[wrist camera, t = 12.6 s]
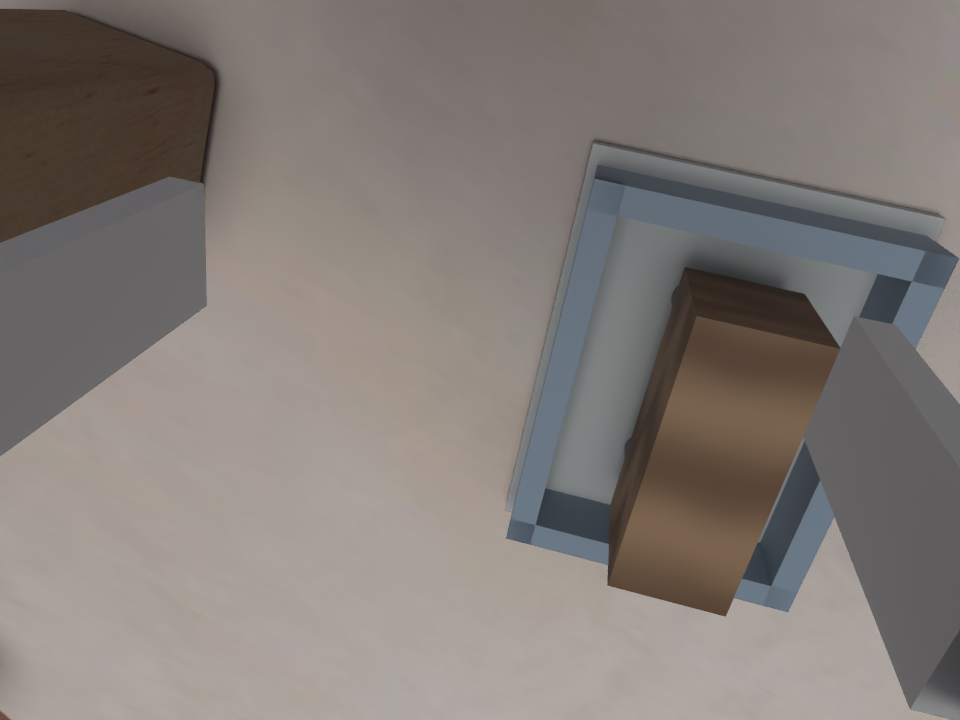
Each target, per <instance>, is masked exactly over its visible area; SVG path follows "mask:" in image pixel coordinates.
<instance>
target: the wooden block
mask: <svg viewBox="0 0 960 720" xmlns="http://www.w3.org/2000/svg"><path fill="white" fill-rule="evenodd" d="M214 88H215V79H214V72H213V71H211V70H210V69H209V68H207V67H206V66H205V65H204V64H202V63H201V62H200V61H198V60H195V59H192V58H190V57H187V56H184V55H182V54H179V53H177V52H174V51H171V50H169V49H166V48H163V47H161V46H158V45H155V44H153V43H150V42H147V41H145V40H142V39H139V38H137V37H134V36H131V35H129V34H126V33H123V32H121V31H118V30H115V29H113V28H110V27H107V26H105V25H102V24H99V23H97V22H94V21H92V20H89V19H86V18H84V17H81V16H78V15H76V14H73V13H70V12H68V11H65V10H28V9H0V243H1V242H4V241H6V240H9V239H11V238H14V237H16V236H19V235H21V234H24V233H27V232H29V231H32V230H34V229H37V228H39V227H42V226H44V225H47V224H50V223H52V222H55V221H57V220H60V219H62V218H65V217H67V216H70V215H73V214H75V213H78V212H80V211H83V210H85V209H88V208H90V207H93V206H96V205H98V204H101V203H103V202H106V201H108V200H111V199H113V198H116V197H119V196H121V195H124V194H126V193H129V192H131V191H134V190H136V189H139V188H142V187H144V186H147V185H149V184H152V183H154V182H157V181H159V180H162V179H165V178H167V177H174V178H178V179H183V180H188V181H193V182H198V183H200V179H201V173H202V166H203V160H204V153H205V147H206V140H207V133H208V127H209V120H210V114H211V107H212V101H213V94H214Z"/></svg>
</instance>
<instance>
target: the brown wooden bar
mask: <svg viewBox="0 0 960 720" xmlns="http://www.w3.org/2000/svg"><path fill="white" fill-rule="evenodd" d="M839 351H840V346H839V345H838V343H837V342H836V340H835V339H834V337H833V336H832V334H831V333H830V331H829V330H828V328H827V327H826V325H825V324H824V322H823V321H822V319H821V318H820V316H819V315H818V313H817V312H816V310H815V309H814V307H813V306H812V304H811V303H810V301H809V299H808V298H807V296H806V295H805V294H804V293H799V292H795V291H790V290H786V289H781V288H777V287H772V286H768V285H763V284H759V283H754V282H750V281H746V280H741V279H737V278H732V277H728V276H723V275H719V274H714V273H710V272H705V271H701V270H696V269H692V268H688V267H685V268H684V271H683V274H682V277H681V281H680V284H679V287H678V290H677V293H676V296H675V300H674V303H673V306H672V309H671V312H670V316H669V319H668V322H667V325H666V328H665V332H664V335H663V338H662V341H661V344H660V348H659V351H658V354H657V357H656V360H655V364H654V367H653V370H652V373H651V376H650V379H649V383H648V386H647V389H646V392H645V395H644V399H643V402H642V405H641V408H640V411H639V415H638V418H637V421H636V424H635V427H634V431H633V434H632V437H631V440H630V443H629V447H628V450H627V453H626V456H625V459H624V462H623V466H622V469H621V472H620V475H619V478H618V482H617V485H616V488H615V491H614V494H613V498H612V501H611V504H610V525H609V555H608V586H612V587H616V588H619V589H623V590H627V591H631V592H635V593H638V594H642V595H646V596H650V597H654V598H657V599H661V600H665V601H669V602H673V603H676V604H680V605H684V606H688V607H692V608H695V609H699V610H703V611H707V612H711V613H715V614H718V615H722V616H726V614H727V612H728V610H729V607H730V605H731V603H732V601H733V598H734V596H735V594H736V591H737V589H738V587H739V584H740V582H741V580H742V577H743V575H744V573H745V570H746V568H747V566H748V564H749V561H750V559H751V557H752V554H753V552H754V550H755V547H756V545H757V543H758V540H759V538H760V536H761V534H762V531H763V529H764V527H765V524H766V522H767V520H768V517H769V515H770V513H771V510H772V508H773V506H774V503H775V501H776V499H777V497H778V494H779V492H780V490H781V487H782V485H783V483H784V480H785V478H786V476H787V473H788V471H789V469H790V467H791V464H792V462H793V460H794V457H795V455H796V453H797V450H798V448H799V446H800V443H801V441H802V439H803V436H804V434H805V432H806V429H807V427H808V425H809V422H810V420H811V417H812V415H813V413H814V410H815V408H816V406H817V403H818V401H819V398H820V396H821V394H822V391H823V389H824V386H825V384H826V382H827V379H828V377H829V375H830V372H831V370H832V367H833V365H834V363H835V360H836V358H837V355H838V353H839Z"/></svg>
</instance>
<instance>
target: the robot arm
mask: <svg viewBox="0 0 960 720" xmlns="http://www.w3.org/2000/svg"><path fill="white" fill-rule="evenodd" d="M205 306H207V296H206V250H205V204H204V184H203V183H198V182H193V181H188V180H183V179H178V178H174V177H167V178H165V179H162V180H159V181H157V182H154V183H152V184H149V185H147V186H144V187H142V188H139V189H136V190H134V191H131V192H129V193H126V194H124V195H121V196H119V197H116V198H113V199H111V200H108V201H106V202H103V203H101V204H98V205H96V206H93V207H90V208H88V209H85V210H83V211H80V212H78V213H75V214H73V215H70V216H67V217H65V218H62V219H60V220H57V221H55V222H52V223H50V224H47V225H44V226H42V227H39V228H37V229H34V230H32V231H29V232H27V233H24V234H21V235H19V236H16V237H14V238H11V239H9V240H6V241H4V242H1V243H0V456H1V455H3V454H4V453H5V452H7V451H8V450H10V449H11V448H12V447H14V446H15V445H16V444H18V443H19V442H21V441H22V440H23V439H25V438H26V437H27V436H29V435H30V434H31V433H33V432H34V431H36V430H37V429H38V428H40V427H41V426H42V425H44V424H45V423H47V422H48V421H49V420H51V419H52V418H53V417H55V416H56V415H58V414H59V413H60V412H62V411H63V410H64V409H66V408H67V407H68V406H70V405H71V404H73V403H74V402H75V401H77V400H78V399H79V398H81V397H82V396H84V395H85V394H86V393H88V392H89V391H90V390H92V389H93V388H94V387H96V386H97V385H99V384H100V383H101V382H103V381H104V380H105V379H107V378H108V377H110V376H111V375H112V374H114V373H115V372H116V371H118V370H119V369H121V368H122V367H123V366H125V365H126V364H127V363H129V362H130V361H131V360H133V359H134V358H136V357H137V356H138V355H140V354H141V353H142V352H144V351H145V350H147V349H148V348H149V347H151V346H152V345H153V344H155V343H156V342H158V341H159V340H160V339H162V338H163V337H164V336H166V335H167V334H168V333H170V332H171V331H173V330H174V329H175V328H177V327H178V326H179V325H181V324H182V323H184V322H185V321H186V320H188V319H189V318H190V317H192V316H193V315H195V314H196V313H197V312H199V311H200V310H201V309H203V308H204V307H205ZM804 440H805V442H806V445H807V447H808V450H809V453H810V455H811V458H812V460H813V463H814V465H815V468H816V470H817V473H818V476H819V478H820V481H821V483H822V486H823V488H824V491H825V493H826V496H827V499H828V501H829V504H830V506H831V509H832V511H833V514H834V516H835V519H836V522H837V524H838V527H839V529H840V532H841V534H842V537H843V539H844V542H845V544H846V547H847V550H848V552H849V555H850V557H851V560H852V562H853V565H854V567H855V570H856V573H857V575H858V578H859V580H860V583H861V585H862V588H863V590H864V593H865V596H866V598H867V601H868V603H869V606H870V608H871V611H872V613H873V616H874V619H875V621H876V624H877V626H878V629H879V631H880V634H881V636H882V639H883V641H884V644H885V647H886V649H887V652H888V654H889V657H890V659H891V662H892V664H893V667H894V670H895V672H896V675H897V677H898V680H899V682H900V685H901V687H902V690H903V693H904V695H905V698H906V700H907V703H908V705H909V708H910V709H911V710H915V711H919V712H923V713H927V714H931V715H935V716H939V717H943V718H947V719H951V720H960V404H959V403H958V402H957V401H956V399H955V398H954V397H953V396H952V394H951V393H950V392H949V391H948V389H947V388H946V387H945V386H944V385H943V383H942V382H941V381H940V380H939V378H938V377H937V376H936V375H935V373H934V372H933V371H932V370H931V368H930V367H929V366H928V365H927V363H926V362H925V361H924V360H923V358H922V357H921V356H920V355H919V353H918V352H917V351H916V350H915V349H914V347H913V346H912V345H911V344H910V342H909V341H908V340H907V339H906V337H905V336H904V335H903V334H902V332H901V331H900V330H899V329H898V327H897V326H896V325H894V324H889V323H884V322H879V321H875V320H870V319H865V318H860V317H855V316H854V317H853V320H852V322H851V325H850V327H849V329H848V332H847V334H846V336H845V339H844V341H843V344H842V346H841V348H840V351H839V353H838V355H837V358H836V360H835V363H834V365H833V367H832V370H831V372H830V375H829V377H828V379H827V382H826V384H825V386H824V389H823V391H822V394H821V396H820V398H819V401H818V403H817V406H816V408H815V410H814V413H813V415H812V417H811V420H810V422H809V425H808V427H807V429H806V432H805V434H804Z"/></svg>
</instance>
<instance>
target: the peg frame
mask: <svg viewBox="0 0 960 720" xmlns="http://www.w3.org/2000/svg"><path fill="white" fill-rule="evenodd" d="M945 221H946V219H945V218H944V217H942V216H940V215H939V214H934V213H929V212H925V211H920V210H915V209H911V208H906V207H901V206H897V205H892V204H887V203H883V202H878V201H873V200H869V199H864V198H859V197H855V196H850V195H845V194H841V193H836V192H831V191H827V190H822V189H817V188H813V187H808V186H803V185H799V184H794V183H789V182H785V181H780V180H775V179H771V178H766V177H761V176H757V175H752V174H747V173H743V172H738V171H733V170H729V169H724V168H719V167H715V166H710V165H705V164H701V163H696V162H691V161H687V160H682V159H677V158H673V157H668V156H663V155H659V154H654V153H649V152H645V151H640V150H635V149H630V148H626V147H621V146H616V145H612V144H607V143H602V142H598V141H593V145H592V149H591V153H590V157H589V161H588V166H587V170H586V174H585V178H584V182H583V186H582V191H581V195H580V199H579V203H578V207H577V211H576V216H575V220H574V224H573V228H572V232H571V236H570V241H569V245H568V249H567V253H566V257H565V261H564V266H563V270H562V274H561V278H560V282H559V286H558V291H557V295H556V299H555V303H554V307H553V311H552V316H551V320H550V324H549V328H548V332H547V336H546V341H545V345H544V349H543V353H542V357H541V361H540V366H539V370H538V374H537V378H536V382H535V386H534V391H533V395H532V399H531V403H530V407H529V411H528V416H527V420H526V424H525V428H524V432H523V436H522V441H521V445H520V449H519V453H518V457H517V461H516V466H515V470H514V474H513V478H512V482H511V486H510V491H509V495H508V499H507V503H506V507H505V511H508V512H512V516H511V520H510V524H509V528H508V533H507V537H506V538H507V539H511V540H515V541H518V542H522V543H526V544H530V545H534V546H538V547H541V548H545V549H549V550H553V551H557V552H560V553H564V554H568V555H572V556H576V557H579V558H583V559H587V560H591V561H595V562H599V563H602V564H606V565H608V555H609V525H610V504H611V501H612V498H613V494H614V491H615V488H616V485H617V482H618V478H619V475H620V472H621V469H622V466H623V462H624V459H625V456H626V453H627V450H628V447H629V443H630V440H631V437H632V434H633V431H634V427H635V424H636V421H637V418H638V415H639V411H640V408H641V405H642V402H643V399H644V395H645V392H646V389H647V386H648V383H649V379H650V376H651V373H652V370H653V367H654V364H655V360H656V357H657V354H658V351H659V348H660V344H661V341H662V338H663V335H664V332H665V328H666V325H667V322H668V319H669V316H670V312H671V309H672V306H673V303H674V300H675V296H676V293H677V290H678V287H679V284H680V281H681V277H682V274H683V271H684V268H685V267H688V268H692V269H696V270H701V271H705V272H710V273H714V274H719V275H723V276H728V277H732V278H737V279H741V280H746V281H750V282H754V283H759V284H763V285H768V286H772V287H777V288H781V289H786V290H790V291H795V292H799V293H804V294H805V295H806V296H807V298H808V299H809V301H810V303H811V304H812V306H813V307H814V309H815V310H816V312H817V313H818V315H819V316H820V318H821V319H822V321H823V322H824V324H825V325H826V327H827V328H828V330H829V331H830V333H831V334H832V336H833V337H834V339H835V340H836V342H837V343H838V345H839V346H840V348H841V346H842V344H843V341H844V339H845V336H846V334H847V332H848V329H849V327H850V325H851V322H852V320H853V317H854V316H855V317H860V318H865V319H870V320H875V321H879V322H884V323H889V324H894V325H896V326H897V327H898V329H899V330H900V331H901V332H902V334H903V335H904V336H905V337H906V339H907V340H908V341H909V342H910V344H911V345H912V346H913V347H914V349H916V347H917V344H918V342H919V340H920V338H921V336H922V334H923V332H924V330H925V328H926V326H927V324H928V322H929V320H930V318H931V316H932V314H933V311H934V309H935V307H936V305H937V303H938V301H939V299H940V297H941V295H942V293H943V291H944V289H945V287H946V285H947V283H948V280H949V278H950V276H951V274H952V272H953V270H954V268H955V266H956V264H957V262H958V260H959V258H958V257H956V256H955V255H954V254H952V253H951V252H949V251H948V250H946V249H945V248H944V247H942V246H941V245H939V244H938V243H937V242H936V240H937V238H938V236H939V234H940V232H941V230H942V227H943V225H944V223H945ZM833 518H834V514H833V511H832V509H831V506H830V504H829V501H828V499H827V496H826V493H825V491H824V488H823V486H822V483H821V481H820V478H819V476H818V473H817V470H816V468H815V465H814V463H813V460H812V458H811V455H810V453H809V450H808V447H807V445H806V442H805V440H804V436H803V439H802V441H801V443H800V446H799V448H798V450H797V453H796V455H795V457H794V460H793V462H792V464H791V467H790V469H789V471H788V473H787V476H786V478H785V480H784V483H783V485H782V487H781V490H780V492H779V494H778V497H777V499H776V501H775V503H774V506H773V508H772V510H771V513H770V515H769V517H768V520H767V522H766V524H765V527H764V529H763V531H762V534H761V536H760V538H759V540H758V543H757V545H756V547H755V550H754V552H753V554H752V557H751V559H750V561H749V564H748V566H747V568H746V570H745V573H744V575H743V577H742V580H741V582H740V584H739V587H738V589H737V591H736V594H735V596H734V598H736V599H740V600H743V601H747V602H751V603H755V604H759V605H762V606H766V607H770V608H774V609H778V610H782V611H785V612H788V611H789V609H790V607H791V605H792V603H793V601H794V599H795V597H796V594H797V592H798V590H799V588H800V586H801V584H802V582H803V580H804V578H805V576H806V574H807V572H808V570H809V568H810V566H811V563H812V561H813V559H814V557H815V555H816V553H817V551H818V549H819V547H820V545H821V543H822V541H823V539H824V537H825V535H826V532H827V530H828V528H829V526H830V524H831V522H832V520H833Z"/></svg>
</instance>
